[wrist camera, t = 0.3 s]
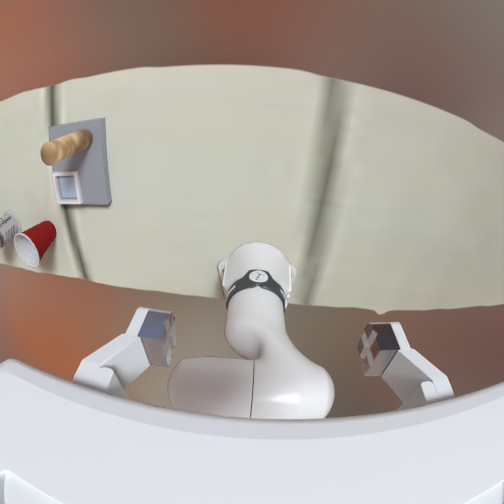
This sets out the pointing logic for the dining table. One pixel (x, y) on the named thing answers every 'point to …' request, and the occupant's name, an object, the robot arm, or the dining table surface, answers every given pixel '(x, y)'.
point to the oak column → (66, 146)
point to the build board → (83, 167)
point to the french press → (9, 227)
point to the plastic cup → (34, 242)
